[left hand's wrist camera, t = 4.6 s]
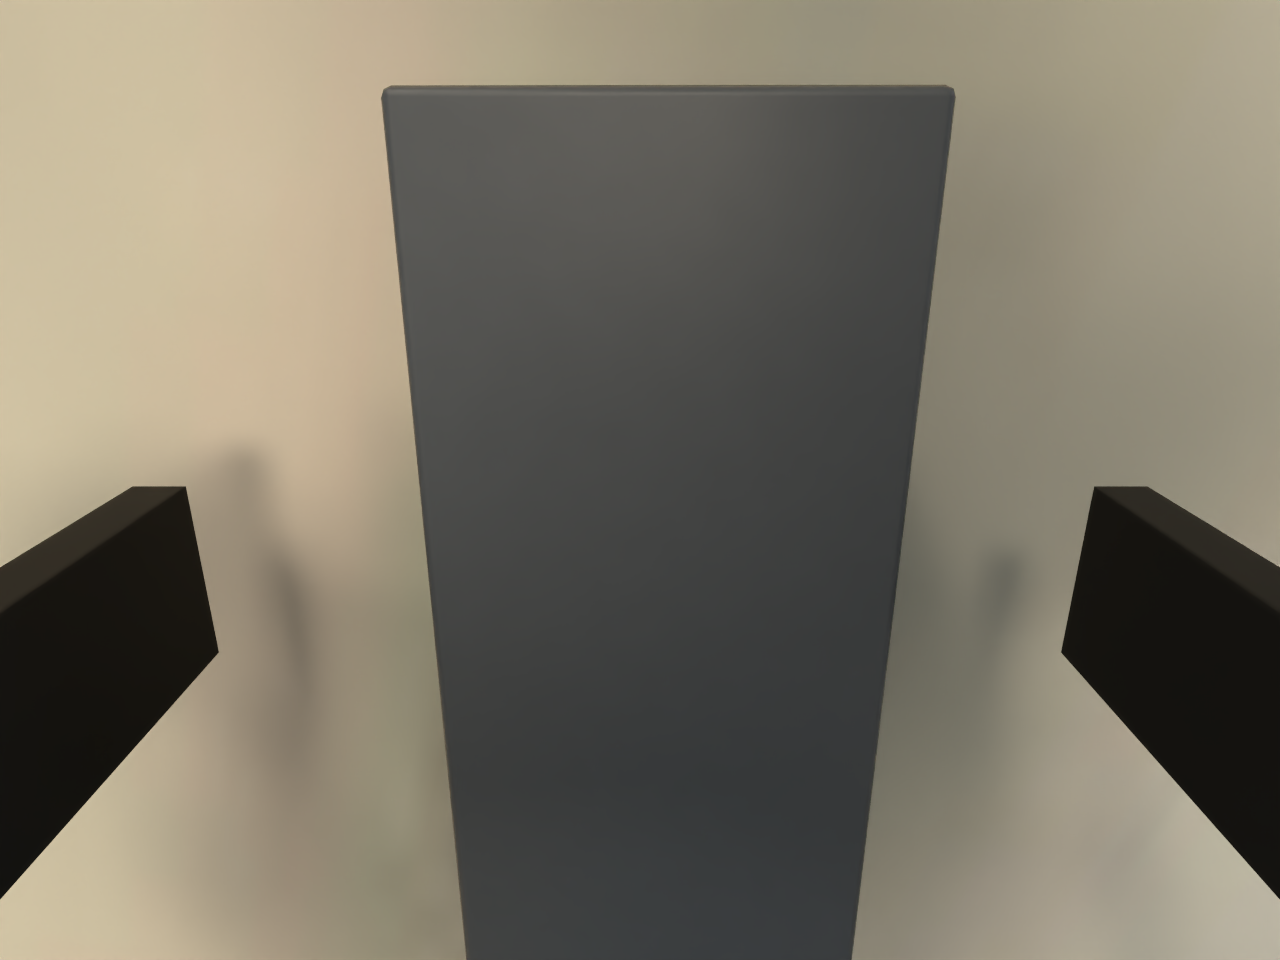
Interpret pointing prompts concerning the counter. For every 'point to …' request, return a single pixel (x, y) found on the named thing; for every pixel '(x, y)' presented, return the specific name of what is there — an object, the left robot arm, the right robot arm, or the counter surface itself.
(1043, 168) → the counter surface
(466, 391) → the bar
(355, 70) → the counter surface
